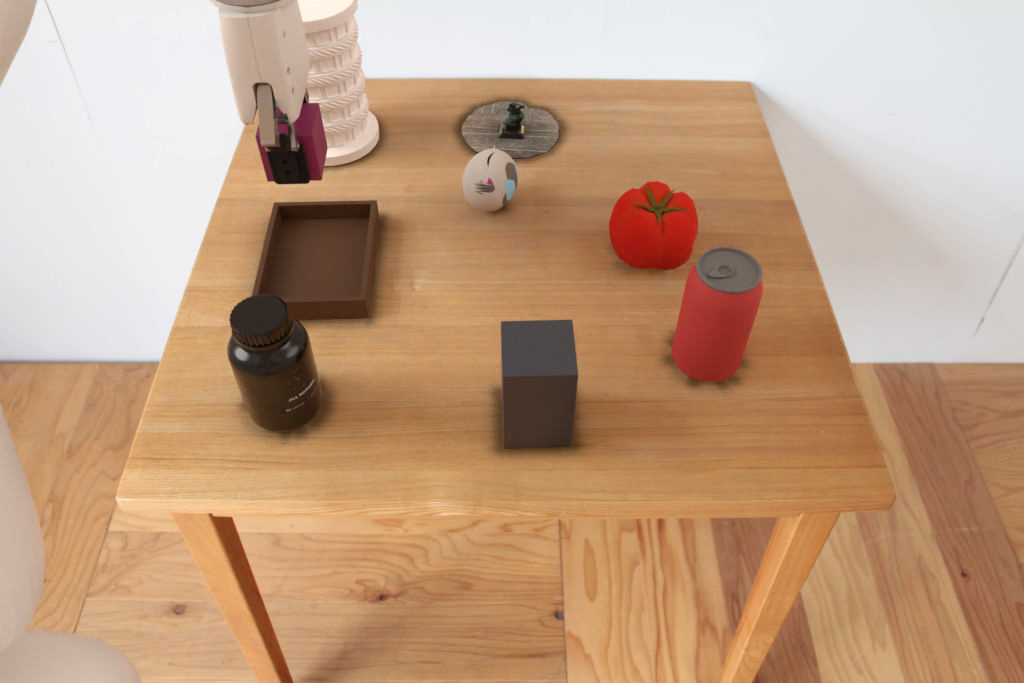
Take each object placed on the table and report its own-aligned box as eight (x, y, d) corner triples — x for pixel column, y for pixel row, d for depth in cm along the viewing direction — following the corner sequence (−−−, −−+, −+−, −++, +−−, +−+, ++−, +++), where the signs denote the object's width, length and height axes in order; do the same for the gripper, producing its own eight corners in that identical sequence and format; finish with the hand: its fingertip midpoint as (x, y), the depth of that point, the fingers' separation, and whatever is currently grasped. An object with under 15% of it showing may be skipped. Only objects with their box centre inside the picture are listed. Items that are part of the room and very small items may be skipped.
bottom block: (571, 446, 75) (578, 374, 67) (503, 448, 75) (502, 376, 67) (566, 392, 79) (572, 319, 71) (501, 394, 79) (500, 320, 71)
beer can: (657, 345, 83) (675, 253, 74) (716, 325, 84) (740, 233, 75) (693, 394, 79) (717, 304, 70) (753, 373, 80) (784, 282, 71)
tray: (368, 318, 85) (365, 300, 83) (255, 320, 85) (249, 302, 83) (379, 218, 95) (376, 200, 93) (278, 220, 95) (273, 202, 93)
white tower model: (295, 109, 109) (264, -30, 95) (385, 111, 109) (367, -28, 95) (275, 165, 101) (238, 22, 88) (372, 167, 101) (350, 24, 87)
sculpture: (576, 144, 104) (542, 115, 98) (525, 197, 107) (488, 172, 101) (530, 90, 111) (495, 60, 105) (483, 142, 114) (445, 115, 107)
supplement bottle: (318, 436, 76) (291, 347, 66) (241, 434, 76) (204, 346, 67) (330, 375, 80) (307, 285, 71) (258, 374, 80) (226, 283, 71)
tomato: (592, 243, 92) (597, 188, 87) (659, 217, 95) (668, 162, 89) (642, 297, 87) (651, 242, 81) (711, 267, 90) (725, 212, 84)
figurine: (508, 233, 93) (508, 184, 88) (455, 225, 94) (452, 176, 89) (524, 188, 98) (525, 139, 93) (474, 181, 99) (472, 132, 94)
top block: (321, 180, 78) (312, 135, 75) (267, 181, 78) (255, 136, 75) (327, 147, 82) (318, 102, 78) (275, 148, 82) (263, 103, 78)
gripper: (224, -76, 72) (271, 111, 85) (179, 28, 60) (241, 223, 74) (314, -77, 72) (346, 109, 85) (285, 27, 61) (327, 222, 74)
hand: (296, 160), depth 80 cm, fingers closed on top block, 5 cm apart
